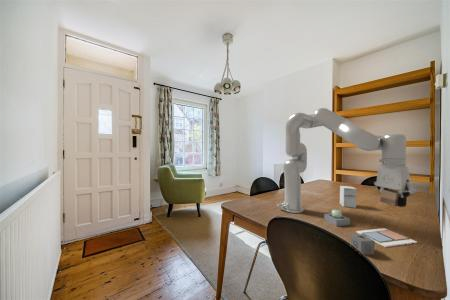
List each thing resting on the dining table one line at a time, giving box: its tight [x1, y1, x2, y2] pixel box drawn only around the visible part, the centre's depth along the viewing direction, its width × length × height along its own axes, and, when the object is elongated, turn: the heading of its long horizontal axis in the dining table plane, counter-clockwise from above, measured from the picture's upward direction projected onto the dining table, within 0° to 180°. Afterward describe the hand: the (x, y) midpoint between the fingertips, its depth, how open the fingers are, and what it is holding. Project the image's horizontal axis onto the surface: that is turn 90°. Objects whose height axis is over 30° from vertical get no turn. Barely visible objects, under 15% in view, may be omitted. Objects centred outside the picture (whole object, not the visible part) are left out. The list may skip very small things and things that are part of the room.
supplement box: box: [339, 185, 357, 209], centre depth 115 cm, size 7×7×13 cm
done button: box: [331, 208, 343, 219], centre depth 89 cm, size 4×4×4 cm
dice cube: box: [350, 233, 376, 255], centre depth 65 cm, size 5×5×5 cm
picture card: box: [355, 227, 418, 248], centre depth 74 cm, size 16×12×1 cm
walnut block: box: [380, 189, 400, 207], centre depth 75 cm, size 6×6×6 cm
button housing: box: [323, 213, 351, 227], centre depth 89 cm, size 8×8×3 cm
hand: (393, 203), depth 75 cm, fingers closed on walnut block, 5 cm apart
